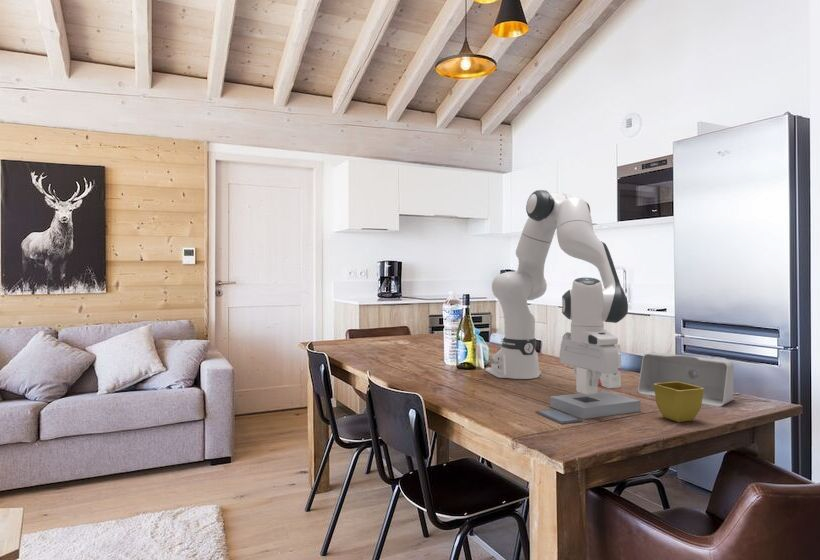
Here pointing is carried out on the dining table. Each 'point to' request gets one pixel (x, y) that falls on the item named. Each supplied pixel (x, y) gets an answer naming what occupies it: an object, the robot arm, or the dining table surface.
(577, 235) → the robot arm
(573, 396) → the outlet board
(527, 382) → the dining table surface
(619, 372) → the ink cartridge box
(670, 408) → the flower pot
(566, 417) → the phone slab
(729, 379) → the tank
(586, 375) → the block
